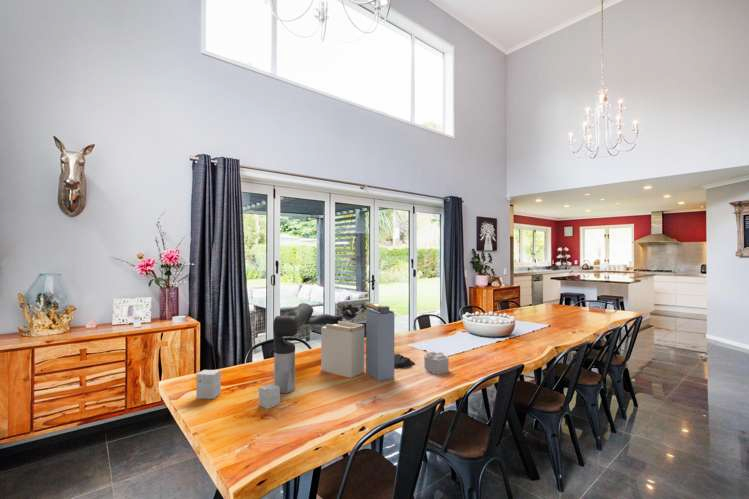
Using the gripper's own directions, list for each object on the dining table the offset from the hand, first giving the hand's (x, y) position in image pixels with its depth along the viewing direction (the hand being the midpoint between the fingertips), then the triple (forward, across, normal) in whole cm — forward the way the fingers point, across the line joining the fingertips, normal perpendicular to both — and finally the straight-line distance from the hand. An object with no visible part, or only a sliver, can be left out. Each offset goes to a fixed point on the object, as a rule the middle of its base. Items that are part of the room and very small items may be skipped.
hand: (358, 305), depth 199 cm
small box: (-2, -77, +34) cm, 84 cm away
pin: (+15, +2, +9) cm, 18 cm away
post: (+5, +1, +40) cm, 40 cm away
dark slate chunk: (-8, +18, +33) cm, 39 cm away
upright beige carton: (-7, -14, +33) cm, 36 cm away
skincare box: (+15, -55, +44) cm, 72 cm away
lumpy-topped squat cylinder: (+10, +32, +43) cm, 54 cm away
